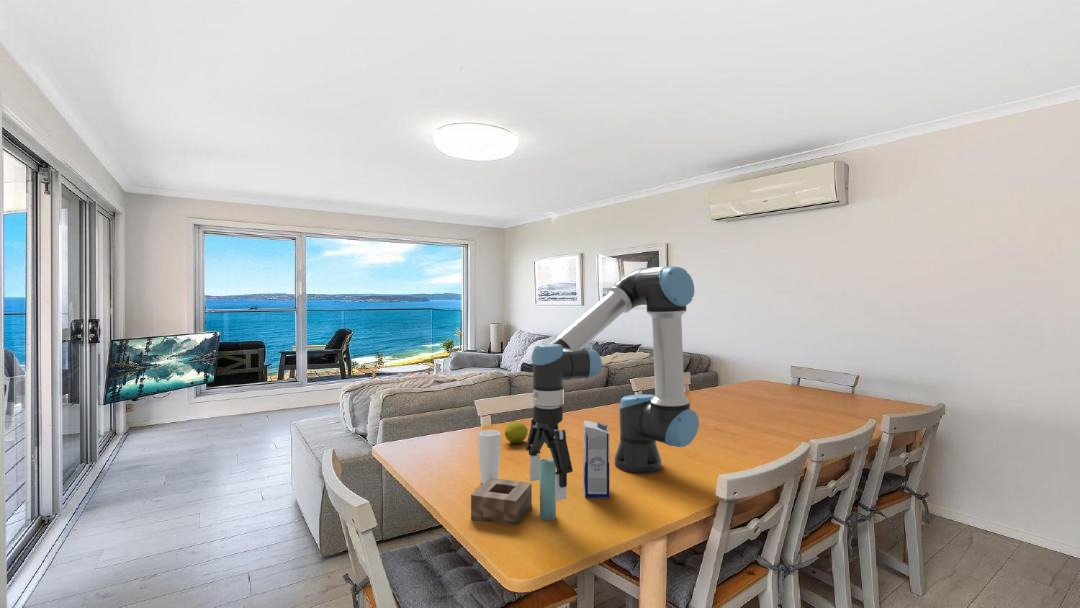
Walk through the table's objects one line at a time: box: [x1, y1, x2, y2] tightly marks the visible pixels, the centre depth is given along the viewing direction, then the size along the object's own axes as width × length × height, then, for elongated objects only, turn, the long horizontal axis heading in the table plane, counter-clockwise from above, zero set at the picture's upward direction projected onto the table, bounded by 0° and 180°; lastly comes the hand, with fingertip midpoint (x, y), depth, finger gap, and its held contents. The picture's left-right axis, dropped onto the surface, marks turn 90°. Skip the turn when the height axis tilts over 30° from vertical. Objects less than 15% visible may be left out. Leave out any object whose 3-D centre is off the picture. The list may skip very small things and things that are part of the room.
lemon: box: [504, 421, 529, 444], centre depth 181 cm, size 11×8×8 cm
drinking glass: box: [477, 429, 502, 485], centre depth 142 cm, size 7×7×15 cm
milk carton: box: [583, 420, 610, 499], centre depth 135 cm, size 7×7×20 cm
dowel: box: [539, 458, 557, 521], centre depth 120 cm, size 4×4×14 cm
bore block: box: [470, 478, 533, 527], centre depth 123 cm, size 12×12×6 cm
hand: (547, 489), depth 120 cm, fingers open, 13 cm apart
